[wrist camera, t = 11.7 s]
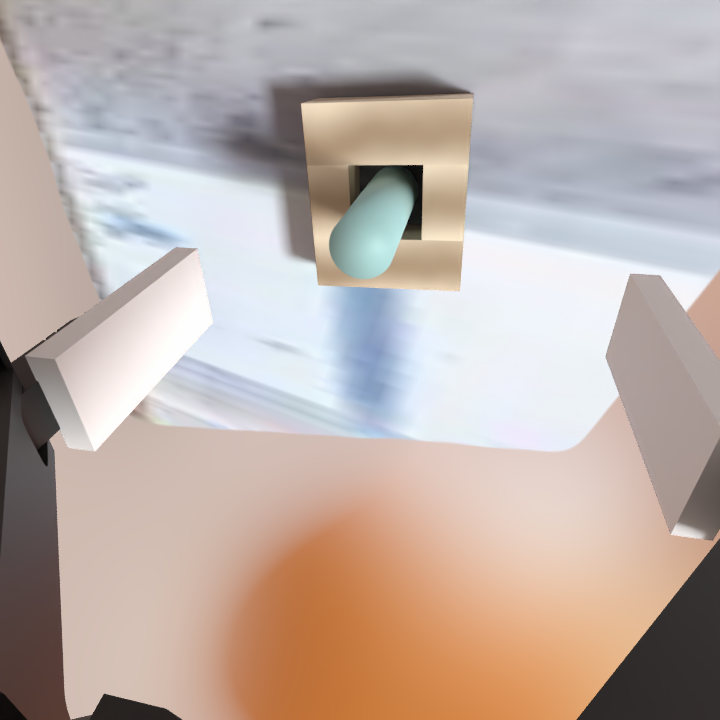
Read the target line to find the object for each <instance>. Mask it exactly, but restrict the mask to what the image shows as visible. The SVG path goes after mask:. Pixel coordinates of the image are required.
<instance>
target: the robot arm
mask: <svg viewBox="0 0 720 720" xmlns="http://www.w3.org/2000/svg"><path fill="white" fill-rule="evenodd" d="M212 323H213V320H212V315H211V311H210V306H209V301H208V297H207V292H206V287H205V282H204V278H203V273H202V268H201V264H200V259H199V254H198V250H197V249H195V248H178V247H176V248H174V249H173V250H172V251H170V252H169V253H167V254H166V255H165V256H163V257H162V258H160V259H159V260H158V261H156V262H155V263H154V264H152V265H151V266H149V267H148V268H147V269H145V270H144V271H142V272H141V273H140V274H138V275H137V276H135V277H134V278H133V279H131V280H130V281H128V282H127V283H126V284H124V285H123V286H122V287H120V288H119V289H117V290H116V291H115V292H113V293H112V294H110V295H109V296H108V297H106V298H105V299H103V300H102V301H101V302H99V303H98V304H96V305H95V306H94V307H92V308H91V309H90V310H88V311H87V312H85V313H84V314H83V315H81V316H80V317H78V318H75V319H73V320H71V321H69V322H68V323H66V324H65V325H64V326H62V327H61V328H60V329H58V330H57V332H54V333H52V334H51V335H50V336H48V337H47V338H46V340H43V341H41V342H40V343H39V344H37V345H36V346H34V347H33V348H32V349H30V350H29V351H27V352H26V353H24V354H23V355H22V356H20V357H19V358H17V359H16V360H15V361H13V362H12V363H11V362H10V360H9V358H8V356H7V354H6V352H5V350H4V348H3V346H2V344H1V342H0V720H70V717H69V714H68V711H67V707H66V702H65V694H64V676H63V675H64V674H63V650H62V625H61V604H60V603H61V601H60V577H59V555H58V529H57V505H56V481H55V457H54V449H53V447H52V445H51V443H50V441H49V439H50V438H51V437H52V436H53V435H54V434H55V433H56V432H57V431H58V430H60V432H61V433H62V436H63V438H64V440H65V442H66V444H67V446H68V448H74V449H80V450H88V451H96V450H97V449H98V448H99V447H100V445H101V444H102V443H103V442H104V441H105V440H106V439H107V438H108V437H109V436H110V434H111V433H112V432H113V431H114V430H115V429H116V428H117V427H118V426H119V425H120V423H121V422H122V421H123V420H124V419H125V418H126V417H127V416H128V415H129V414H130V413H131V412H132V410H133V409H134V408H135V407H136V406H137V405H138V404H139V403H140V402H141V401H142V400H143V398H144V397H145V396H146V395H147V394H148V393H149V392H150V391H151V390H152V389H153V388H154V386H155V385H156V384H157V383H158V382H159V381H160V380H161V379H162V378H163V377H164V375H165V374H166V373H167V372H168V371H169V370H170V369H171V368H172V367H173V366H174V365H175V363H176V362H177V361H178V360H179V359H180V358H181V357H182V356H183V355H184V354H185V353H186V351H187V350H188V349H189V348H190V347H191V346H192V345H193V344H194V343H195V342H196V340H197V339H198V338H199V337H200V336H201V335H202V334H203V333H204V332H205V331H206V330H207V328H208V327H209V326H210V325H211V324H212ZM605 357H606V359H607V362H608V365H609V367H610V370H611V373H612V376H613V378H614V381H615V384H616V387H617V389H618V392H619V395H620V397H621V400H622V403H623V406H624V408H625V411H626V414H627V416H628V419H629V422H630V425H631V427H632V430H633V433H634V436H635V438H636V441H637V444H638V447H639V449H640V452H641V455H642V457H643V460H644V463H645V466H646V468H647V471H648V474H649V477H650V479H651V482H652V485H653V488H654V490H655V493H656V496H657V498H658V501H659V504H660V507H661V509H662V512H663V515H664V518H665V520H666V523H667V526H668V528H669V531H670V534H671V535H677V536H684V537H691V538H698V539H705V540H714V538H715V536H716V534H717V533H718V531H719V529H720V360H719V359H718V357H717V356H716V354H715V353H714V351H713V350H712V349H711V347H710V346H709V344H708V343H707V341H706V340H705V339H704V337H703V336H702V334H701V333H700V332H699V330H698V329H697V327H696V326H695V324H694V323H693V322H692V320H691V319H690V317H689V316H688V314H687V313H686V312H685V310H684V309H683V307H682V306H681V305H680V303H679V302H678V300H677V299H676V297H675V296H674V295H673V293H672V292H671V290H670V289H669V287H668V286H667V285H666V283H665V282H664V280H663V279H662V278H661V276H660V275H643V274H630V276H629V279H628V283H627V286H626V289H625V293H624V296H623V299H622V303H621V306H620V310H619V313H618V316H617V320H616V323H615V326H614V330H613V333H612V336H611V340H610V343H609V346H608V350H607V353H606V356H605ZM72 720H182V719H180V718H179V717H177V716H176V715H174V714H173V713H171V712H170V711H169V710H167V709H165V708H160V707H156V706H152V705H148V704H144V703H140V702H136V701H132V700H128V699H124V698H119V697H115V696H111V695H107V694H104V695H103V697H102V698H101V700H100V702H99V704H98V705H97V707H96V709H95V711H94V712H93V714H92V715H90V716H85V717H81V718H76V719H72ZM577 720H720V539H719V540H718V542H717V543H716V544H715V545H714V547H713V548H712V549H711V550H710V552H709V553H708V554H707V555H706V557H705V558H704V559H703V561H702V562H701V563H700V564H699V566H698V567H697V568H696V569H695V571H694V572H693V573H692V574H691V576H690V577H689V578H688V580H687V581H686V582H685V583H684V585H683V586H682V587H681V588H680V590H679V591H678V592H677V593H676V595H675V596H674V597H673V598H672V600H671V601H670V602H669V603H668V605H667V606H666V607H665V609H664V610H663V611H662V612H661V614H660V615H659V616H658V617H657V619H656V620H655V621H654V623H653V624H652V625H651V626H650V627H649V629H648V630H647V631H646V633H645V634H644V635H643V636H642V638H641V639H640V640H639V641H638V643H637V644H636V645H635V646H634V648H633V649H632V650H631V652H630V653H629V654H628V655H627V657H626V658H625V659H624V661H623V662H622V663H621V664H620V665H619V667H618V668H617V669H616V670H615V672H614V673H613V675H612V676H611V677H610V678H609V679H608V681H607V682H606V683H605V684H604V686H603V687H602V688H601V690H600V691H599V692H598V693H597V694H596V696H595V697H594V698H593V700H592V701H591V702H590V703H589V705H588V706H587V707H586V709H585V710H584V711H583V712H582V713H581V715H580V716H579V717H578V719H577Z"/></svg>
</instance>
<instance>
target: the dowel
mask: <svg viewBox="0 0 720 720" xmlns="http://www.w3.org/2000/svg"><path fill="white" fill-rule="evenodd" d="M417 195H418V186H417V182H416V180H415V178H414V176H413V175H412V174H411V172H409V171H408V170H407V169H405V168H403V167H401V166H395V165H392V166H387V167H384V168H382V169H381V170H379V171H378V172H377V173H376V174H375V176H374V177H373V178H372V180H371V181H370V182H369V183H368V185H367V186H366V187H365V189H364V190H363V191H362V192H361V194H360V195H359V196H358V198H357V199H356V200H355V201H354V203H353V204H352V205H351V207H350V208H349V209H348V210H347V212H346V213H345V214H344V215H343V217H342V218H341V219H340V221H339V222H338V223H337V224H336V226H335V227H334V229H333V230H332V232H331V235H330V239H329V251H330V255H331V257H332V260H333V261H334V263H335V265H336V266H337V267H338V268H339V269H340V270H341V271H342V272H343V273H345V274H347V275H348V276H351V277H353V278H357V279H371V278H374V277H377V276H379V275H380V274H382V273H383V272H384V271H386V269H387V268H388V267H389V266H390V264H391V262H392V260H393V257H394V255H395V252H396V250H397V247H398V245H399V242H400V239H401V237H402V234H403V232H404V229H405V227H406V224H407V222H408V219H409V217H410V214H411V211H412V209H413V206H414V204H415V201H416V199H417Z"/></svg>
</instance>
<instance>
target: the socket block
mask: <svg viewBox="0 0 720 720" xmlns="http://www.w3.org/2000/svg"><path fill="white" fill-rule="evenodd" d="M472 106H473V93H466V94H435V95H404V96H373V97H342V98H316V99H313V100H310V101H307V102H304V103H301V109H302V120H303V130H304V141H305V151H306V162H307V172H308V183H309V194H310V204H311V215H312V225H313V236H314V246H315V257H316V267H317V278H318V285H324V286H348V287H372V288H396V289H420V290H444V291H460V281H461V268H462V253H463V238H464V224H465V209H466V194H467V180H468V165H469V150H470V136H471V121H472ZM359 165H423V199H422V225H413V224H406V227H405V229H404V232H403V234H402V237H401V239H400V242H399V245H398V247H397V250H396V252H395V255H394V257H393V260H392V262H391V264H390V266H389V267H388V268H387V269H386V271H384V272H383V273H382V274H380V275H379V276H377V277H374V278H371V279H357V278H353V277H351V276H348V275H347V274H345V273H343V272H342V271H341V270H340V269H339V268H338V267H337V266H336V265H335V263H334V261H333V260H332V257H331V255H330V251H329V239H330V235H331V232H332V230H333V229H334V227H335V226H336V224H337V223H338V222H339V221H340V219H341V218H342V217H343V215H344V214H345V213H346V212H347V210H348V209H349V208H350V207H351V205H352V204H353V203H354V201H355V200H356V199H357V198H358V196H359V195H360V175H359Z"/></svg>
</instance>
